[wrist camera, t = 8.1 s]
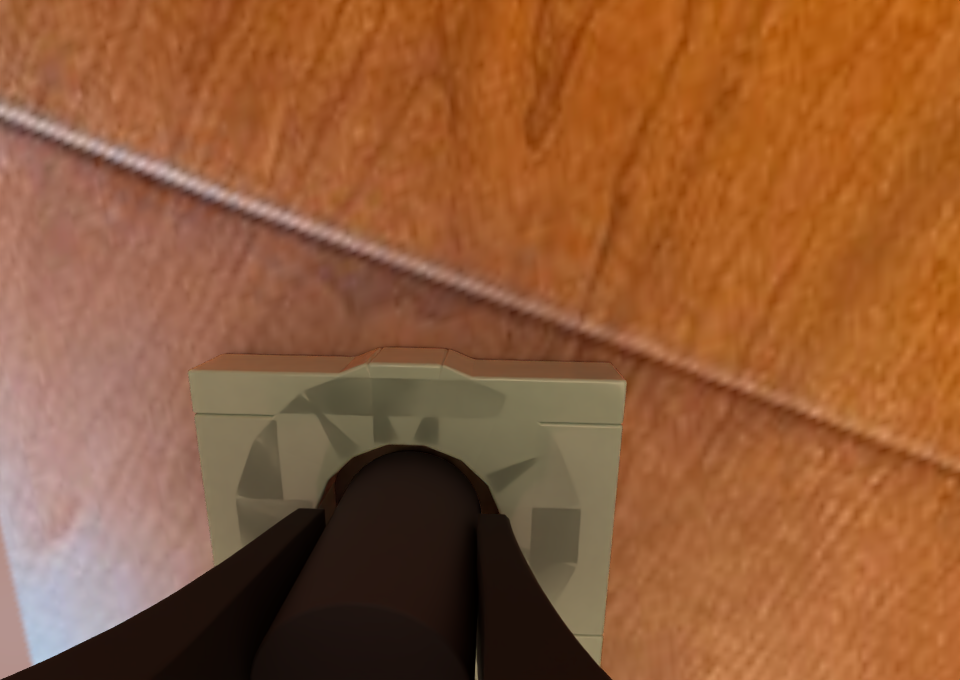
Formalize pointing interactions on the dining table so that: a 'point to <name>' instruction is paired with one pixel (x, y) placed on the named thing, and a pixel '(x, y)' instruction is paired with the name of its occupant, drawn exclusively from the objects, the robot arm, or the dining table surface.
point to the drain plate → (426, 422)
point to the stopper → (385, 582)
